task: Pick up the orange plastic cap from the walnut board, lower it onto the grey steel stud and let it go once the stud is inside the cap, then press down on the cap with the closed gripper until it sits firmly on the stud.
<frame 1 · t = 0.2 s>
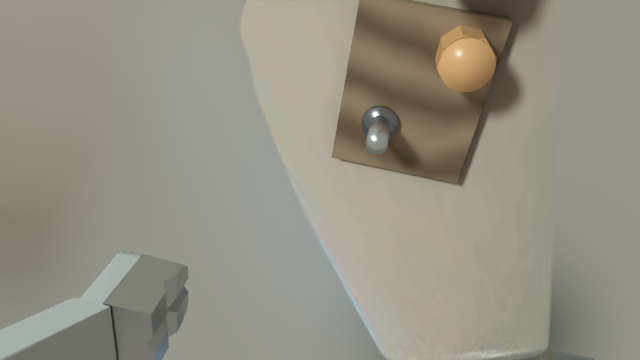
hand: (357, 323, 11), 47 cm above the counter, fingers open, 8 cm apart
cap: (462, 52, 52), point 1 cm above the counter, touching board
board: (412, 92, 56), on the counter
stud: (380, 117, 59), resting on board
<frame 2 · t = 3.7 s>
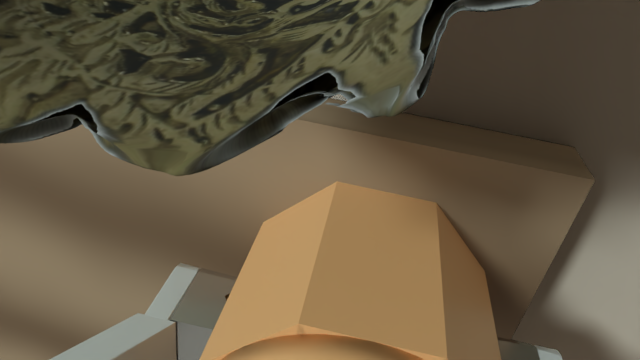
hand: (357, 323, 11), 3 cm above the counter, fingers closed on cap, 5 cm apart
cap: (363, 280, 12), point 1 cm above the counter, touching board, gripper
board: (223, 350, 17), on the counter
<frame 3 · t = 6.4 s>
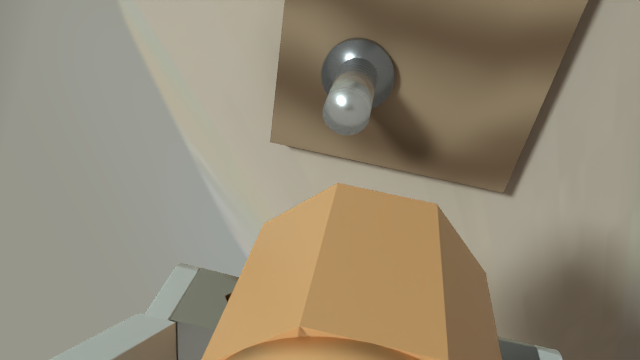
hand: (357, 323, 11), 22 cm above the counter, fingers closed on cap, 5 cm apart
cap: (364, 281, 12), point 21 cm above the counter, touching gripper
board: (424, 11, 28), on the counter
stud: (360, 65, 30), resting on board
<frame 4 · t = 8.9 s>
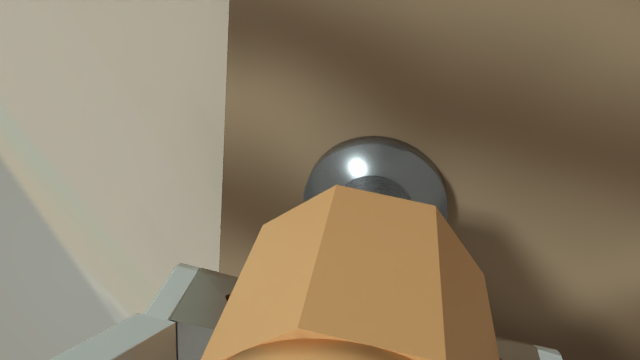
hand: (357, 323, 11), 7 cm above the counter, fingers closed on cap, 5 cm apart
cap: (362, 283, 12), point 5 cm above the counter, touching gripper
board: (506, 82, 14), on the counter
stud: (378, 175, 16), resting on board
when the fingers open (6 cm above the counter, at t = 9.4 s): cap drops 1 cm, resting on stud.
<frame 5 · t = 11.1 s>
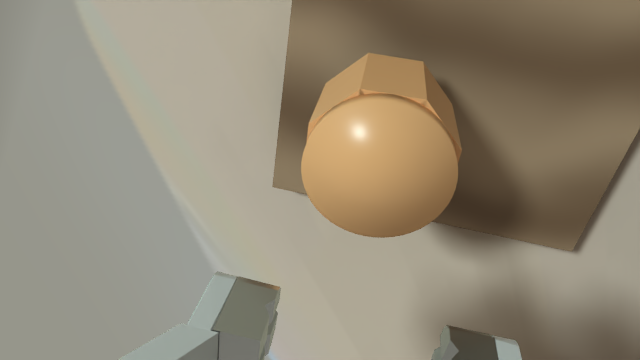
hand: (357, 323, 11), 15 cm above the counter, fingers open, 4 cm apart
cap: (383, 117, 21), point 3 cm above the counter, touching stud
board: (474, 20, 21), on the counter
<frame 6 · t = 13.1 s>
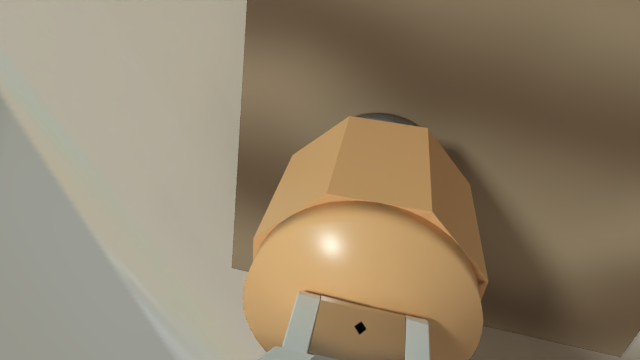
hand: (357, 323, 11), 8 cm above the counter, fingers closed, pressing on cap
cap: (374, 199, 15), point 3 cm above the counter, touching gripper, stud
board: (497, 63, 15), on the counter
stud: (380, 151, 18), resting on board
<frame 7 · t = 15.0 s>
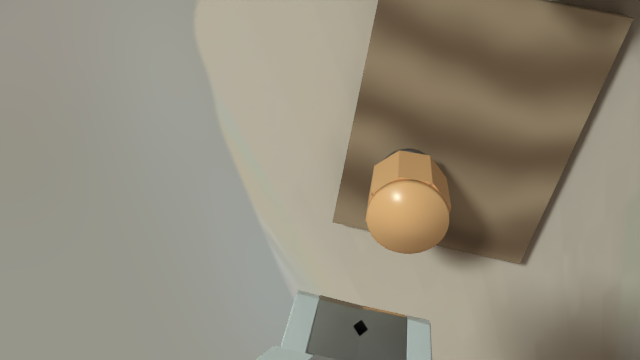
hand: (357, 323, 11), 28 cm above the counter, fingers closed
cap: (407, 184, 36), point 3 cm above the counter, touching stud
board: (458, 128, 37), on the counter
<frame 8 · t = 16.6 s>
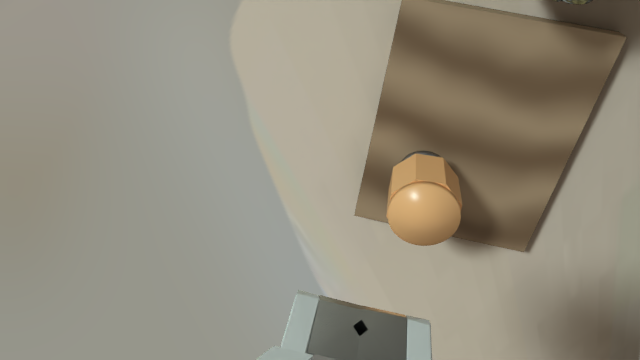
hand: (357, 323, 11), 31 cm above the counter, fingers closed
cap: (422, 183, 40), point 3 cm above the counter, touching stud
board: (468, 131, 41), on the counter
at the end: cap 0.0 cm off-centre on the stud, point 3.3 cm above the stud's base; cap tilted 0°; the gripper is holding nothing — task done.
